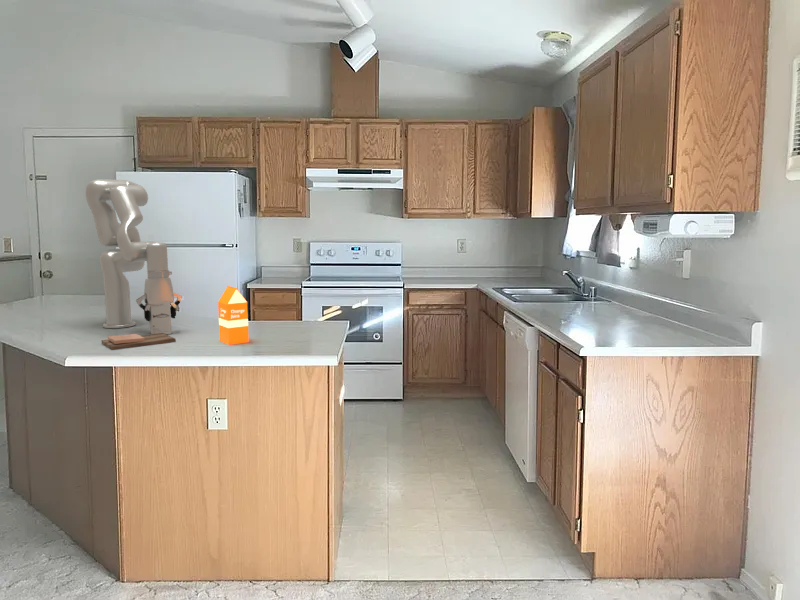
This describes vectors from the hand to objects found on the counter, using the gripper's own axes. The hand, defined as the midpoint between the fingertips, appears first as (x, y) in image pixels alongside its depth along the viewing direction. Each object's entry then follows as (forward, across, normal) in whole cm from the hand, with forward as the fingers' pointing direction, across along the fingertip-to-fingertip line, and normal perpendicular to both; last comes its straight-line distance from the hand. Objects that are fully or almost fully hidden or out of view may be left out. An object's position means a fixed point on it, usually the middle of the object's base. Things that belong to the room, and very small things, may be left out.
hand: (160, 319), depth 259 cm
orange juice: (+6, -16, +32) cm, 36 cm away
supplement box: (+6, 0, -1) cm, 6 cm away
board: (+6, +12, +12) cm, 18 cm away
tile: (+3, +16, +12) cm, 20 cm away
